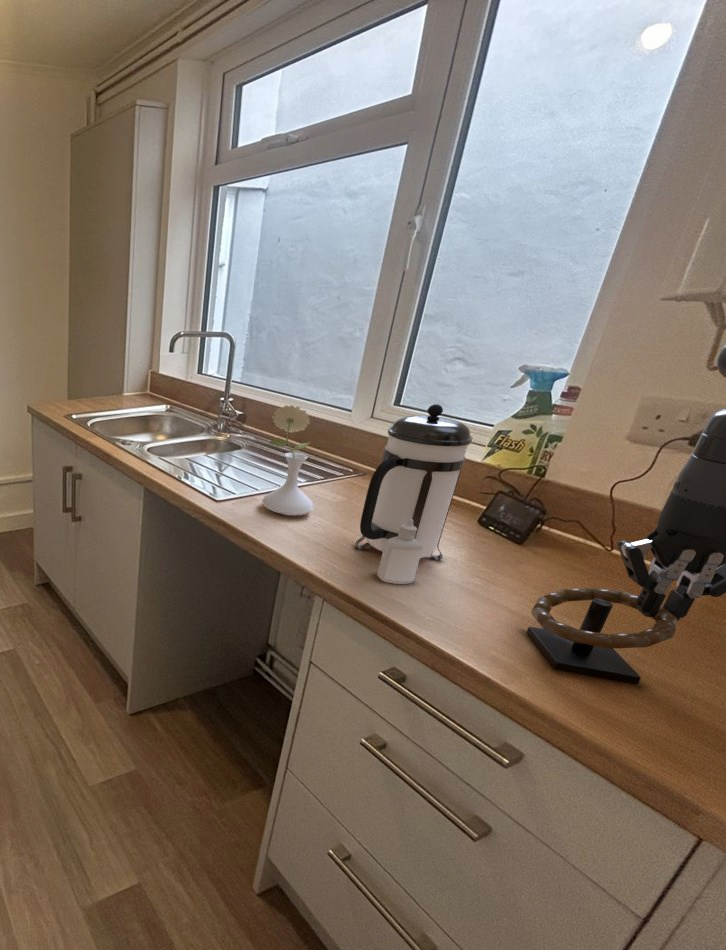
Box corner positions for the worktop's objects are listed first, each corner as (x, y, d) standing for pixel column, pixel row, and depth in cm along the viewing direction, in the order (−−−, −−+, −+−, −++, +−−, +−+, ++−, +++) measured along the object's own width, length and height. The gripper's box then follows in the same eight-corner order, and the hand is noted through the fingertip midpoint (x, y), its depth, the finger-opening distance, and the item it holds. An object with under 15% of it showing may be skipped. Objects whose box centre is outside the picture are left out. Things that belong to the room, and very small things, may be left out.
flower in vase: (321, 512, 125) (342, 407, 116) (296, 524, 119) (316, 415, 109) (271, 496, 135) (287, 399, 125) (245, 507, 129) (260, 405, 119)
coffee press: (347, 531, 115) (378, 394, 104) (434, 544, 109) (478, 400, 97) (350, 565, 101) (386, 411, 89) (450, 584, 94) (504, 419, 83)
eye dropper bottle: (411, 589, 93) (429, 527, 88) (375, 580, 96) (390, 520, 91) (413, 579, 96) (430, 519, 92) (378, 570, 99) (393, 512, 95)
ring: (636, 593, 76) (636, 582, 75) (704, 648, 64) (705, 636, 64) (517, 600, 82) (516, 590, 81) (560, 652, 70) (559, 641, 69)
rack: (600, 645, 78) (625, 591, 74) (637, 684, 70) (668, 627, 67) (526, 632, 81) (546, 580, 77) (553, 669, 73) (578, 613, 70)
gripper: (664, 499, 63) (607, 621, 69) (827, 514, 58) (749, 643, 65) (626, 479, 69) (577, 592, 76) (770, 492, 65) (705, 611, 71)
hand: (657, 615), depth 70 cm, fingers closed on ring, 2 cm apart
